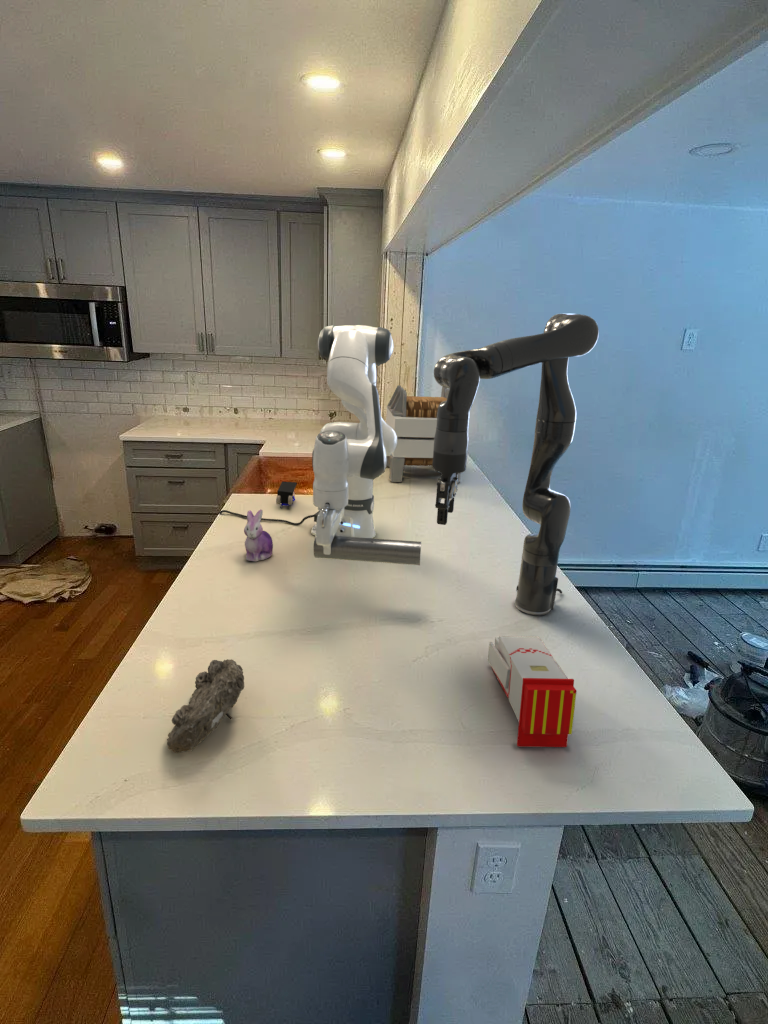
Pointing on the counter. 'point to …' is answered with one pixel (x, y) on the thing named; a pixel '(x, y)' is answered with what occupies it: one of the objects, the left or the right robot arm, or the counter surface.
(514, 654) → the toy
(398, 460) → the transformer
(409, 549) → the rod
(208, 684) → the fossil
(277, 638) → the counter surface
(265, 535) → the figurine
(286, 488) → the figurine character
